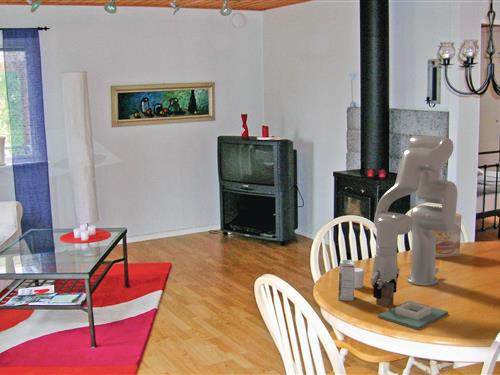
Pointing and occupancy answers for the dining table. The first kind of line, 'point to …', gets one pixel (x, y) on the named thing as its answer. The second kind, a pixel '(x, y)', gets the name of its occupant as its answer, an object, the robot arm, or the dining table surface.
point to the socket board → (413, 314)
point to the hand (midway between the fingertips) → (384, 294)
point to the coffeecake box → (449, 240)
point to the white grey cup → (358, 277)
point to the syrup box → (346, 280)
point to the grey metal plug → (386, 294)
